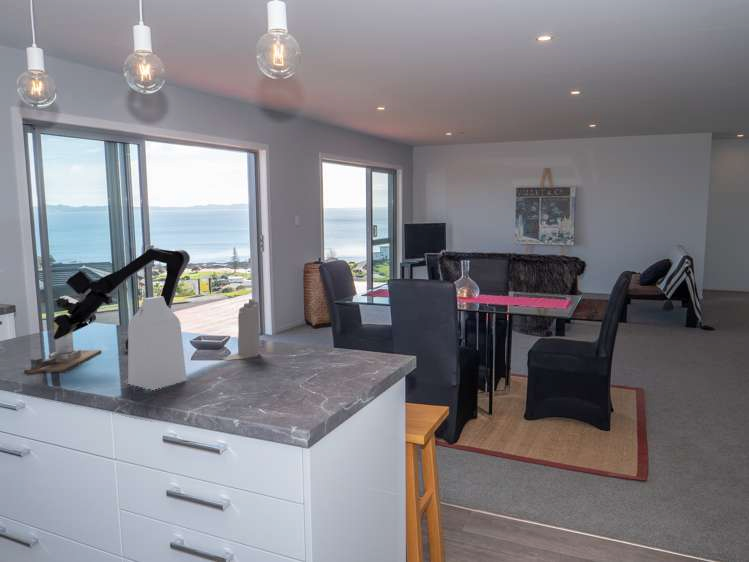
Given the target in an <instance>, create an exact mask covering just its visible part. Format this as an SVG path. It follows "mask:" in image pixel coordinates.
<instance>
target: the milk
mask: <svg viewBox="0 0 749 562" xmlns="http://www.w3.org/2000/svg"><path fill="white" fill-rule="evenodd" d="M181 325H182V324H181V321H180V319H179V318H178V316H177V315H176V314H175V313H174V311H173V310H172V308H171V309H170V308H169V307H168V306H167V305H166V302H165V300H164V297H163V296H161V295H160V296H153V297H145V298H143V299H142V302H141V305H140V308H139V309H138V311H137V312H136V313H135V314H134V316H132V317H131V319H130V320H129V322H128V326H127V327H128V328H127V339H128V350H127V355H128V357H127V360H128V361H127V363H128V364H127V368H128V370H127V376H128V377H127V381H128V384H131V385H130V386H132V385H135V386H134V387H136V386H139V387H138V388H140V387H143V388H142V389H144V388H146V389H145V390H148V389H151V390H150V391H152V390H154V391H156V390H155V389H157V390H159V389H158V388H160V389H163V388H162V387H164V388H166V387H165V386H167V387H170V386H174V385H177V384H180V383H183V382H186V381H187V372H186V362H185V354H184V345H183V344H184V343H183V335H182V326H181ZM176 383H177V384H176ZM169 385H170V386H169Z"/></svg>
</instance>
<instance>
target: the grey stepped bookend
mask: <svg viewBox="0 0 749 562" xmlns="http://www.w3.org/2000/svg"><path fill="white" fill-rule="evenodd" d="M259 305H260V304H259V302H258V300H256V299H251V298H250V299H248V303H246V302H245V303H244V305H243V306H242V307H240V308H239V309H238V317H237V318H238V319H237V321H238V322H237V325H238V330H237V331H238V332H237V333H238V336H237V338H238V339H237V340H238V341H237V349H238V351H237V353H233V354H230V355H227V356H226V357H225V356H224V357H223V358H221V360H225V361H232V360H242V359H244V360H245V359H249V358H254V357H258V355H259V356H260V355H261V350H260V349H261V348H260V313H259V312H260V309H259Z"/></svg>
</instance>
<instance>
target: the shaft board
mask: <svg viewBox="0 0 749 562" xmlns="http://www.w3.org/2000/svg"><path fill="white" fill-rule="evenodd" d="M73 350H74V352H73V353H71V354H56V351H54V352H52V353H50V354H48V358H46V359H44V358H43V357H34V358H30V367H28V368H25V369H24V372H23V373H24V374H42V373H41V372H66V371H67V372H69V371H71V370H72V368H73V369H74V367H75V368H76V366H77V367H78V366H80V365H82V364H84V363H85V361H86V362H87V361H90V360H91V359H93V358H94V356H95V357H97V356H98V355H100V354H102V350H101V349H98V350H97V349H95V350H93V349H92V350H91V349H90V350H89V349H88V350H85V349H84V350H81V349H73ZM99 353H100V354H99ZM96 355H97V356H96ZM92 357H93V358H92ZM90 358H91V359H90ZM83 362H84V363H83ZM81 363H82V364H81ZM79 364H80V365H79ZM70 369H71V370H70ZM68 370H69V371H68ZM38 372H39V373H38ZM67 372H66V373H67Z"/></svg>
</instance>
